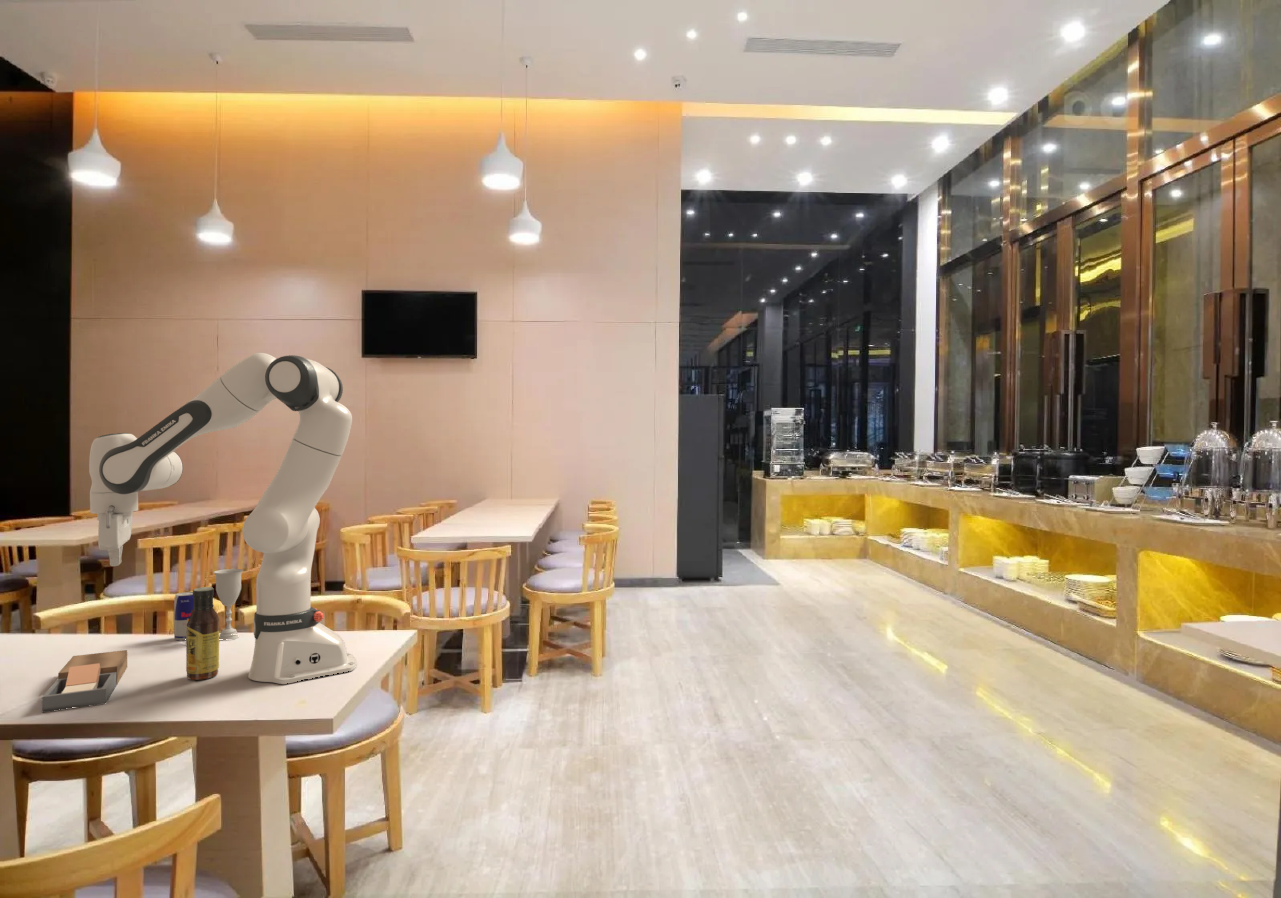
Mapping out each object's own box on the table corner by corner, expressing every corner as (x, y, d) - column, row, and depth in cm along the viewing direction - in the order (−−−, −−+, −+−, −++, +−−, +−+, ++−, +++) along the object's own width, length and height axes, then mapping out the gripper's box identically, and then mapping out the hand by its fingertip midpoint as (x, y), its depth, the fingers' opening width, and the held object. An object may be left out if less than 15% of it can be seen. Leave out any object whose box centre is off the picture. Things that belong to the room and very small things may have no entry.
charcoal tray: (116, 686, 153) (116, 672, 153) (106, 703, 142) (105, 688, 142) (57, 693, 148) (57, 679, 148) (42, 712, 137) (42, 697, 137)
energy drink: (186, 641, 188) (186, 596, 188) (169, 640, 189) (169, 595, 189) (202, 636, 193) (202, 592, 193) (186, 635, 194) (186, 591, 194)
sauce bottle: (184, 676, 159) (184, 587, 159) (217, 671, 163) (217, 584, 163) (187, 684, 154) (187, 592, 154) (221, 678, 158) (221, 589, 158)
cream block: (92, 689, 143) (92, 699, 143) (96, 682, 147) (96, 692, 147) (61, 693, 140) (61, 703, 140) (65, 686, 145) (65, 696, 145)
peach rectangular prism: (100, 669, 152) (99, 663, 151) (97, 688, 148) (96, 681, 147) (70, 673, 149) (69, 667, 148) (66, 692, 146) (65, 685, 145)
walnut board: (127, 667, 166) (127, 650, 166) (117, 684, 154) (117, 666, 154) (73, 673, 161) (73, 656, 161) (58, 692, 149) (58, 673, 149)
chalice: (248, 637, 192) (248, 570, 192) (222, 642, 186) (222, 574, 186) (234, 633, 196) (234, 568, 196) (208, 638, 190) (208, 571, 190)
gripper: (125, 506, 154) (126, 570, 154) (136, 501, 172) (137, 558, 172) (88, 508, 151) (90, 573, 151) (104, 502, 169) (105, 560, 169)
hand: (115, 565), depth 162 cm, fingers closed
